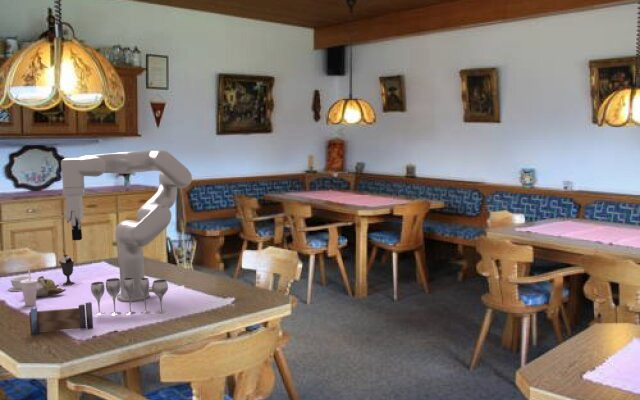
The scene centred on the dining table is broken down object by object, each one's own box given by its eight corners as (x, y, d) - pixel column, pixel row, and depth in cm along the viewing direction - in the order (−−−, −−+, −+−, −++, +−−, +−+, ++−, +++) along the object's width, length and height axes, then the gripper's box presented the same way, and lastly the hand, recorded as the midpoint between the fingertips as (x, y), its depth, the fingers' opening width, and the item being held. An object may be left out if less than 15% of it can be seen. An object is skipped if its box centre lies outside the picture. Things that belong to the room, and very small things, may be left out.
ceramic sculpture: (20, 275, 262) (57, 271, 272) (20, 296, 263) (57, 291, 272) (28, 280, 254) (66, 276, 264) (28, 302, 255) (66, 296, 264)
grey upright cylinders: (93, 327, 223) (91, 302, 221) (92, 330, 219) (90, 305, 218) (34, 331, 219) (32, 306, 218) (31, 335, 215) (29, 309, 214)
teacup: (17, 293, 269) (16, 282, 268) (3, 290, 274) (2, 279, 273) (38, 287, 277) (38, 277, 276) (25, 284, 282) (24, 274, 282)
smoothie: (32, 307, 247) (29, 272, 245) (18, 306, 249) (15, 271, 247) (42, 302, 253) (40, 268, 252) (28, 302, 255) (25, 267, 253)
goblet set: (90, 317, 234) (88, 281, 233) (95, 312, 240) (93, 277, 238) (167, 314, 236) (166, 279, 234) (170, 309, 241) (168, 275, 240)
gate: (86, 326, 222) (85, 304, 221) (85, 328, 220) (84, 305, 219) (31, 331, 218) (29, 308, 217) (30, 333, 216) (28, 310, 215)
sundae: (63, 282, 285) (60, 249, 283) (78, 281, 285) (76, 248, 284) (58, 286, 278) (55, 252, 276) (74, 285, 279) (71, 251, 277)
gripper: (66, 189, 244) (70, 236, 246) (59, 194, 230) (63, 244, 232) (87, 188, 246) (90, 235, 248) (81, 193, 231) (84, 243, 233)
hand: (77, 239), depth 240 cm, fingers closed
